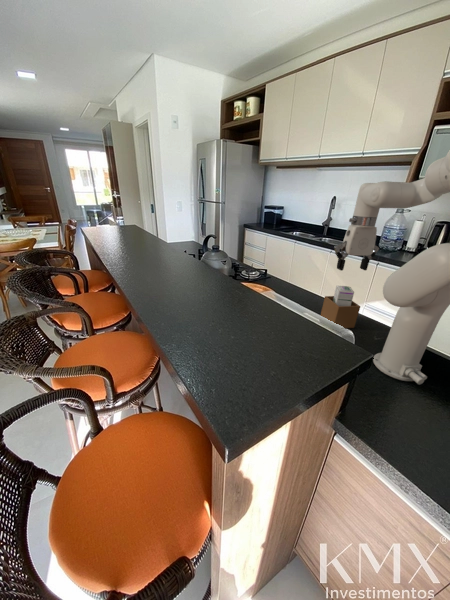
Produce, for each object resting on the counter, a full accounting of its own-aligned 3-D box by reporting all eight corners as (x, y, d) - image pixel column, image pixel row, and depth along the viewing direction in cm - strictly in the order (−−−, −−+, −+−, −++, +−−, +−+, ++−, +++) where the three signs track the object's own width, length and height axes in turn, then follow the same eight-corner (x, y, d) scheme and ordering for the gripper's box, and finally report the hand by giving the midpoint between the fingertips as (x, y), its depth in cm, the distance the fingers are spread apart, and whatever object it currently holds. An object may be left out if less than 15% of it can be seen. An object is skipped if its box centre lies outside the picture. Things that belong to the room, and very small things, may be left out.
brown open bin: (354, 327, 99) (360, 306, 95) (333, 328, 98) (338, 306, 94) (339, 315, 108) (345, 295, 104) (320, 316, 107) (324, 296, 103)
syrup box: (346, 325, 100) (355, 291, 94) (330, 323, 101) (339, 290, 95) (342, 318, 105) (351, 286, 99) (328, 316, 106) (336, 284, 100)
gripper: (347, 222, 82) (336, 272, 88) (393, 224, 84) (379, 272, 91) (334, 220, 88) (325, 266, 95) (377, 221, 91) (365, 266, 98)
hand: (351, 269), depth 93 cm, fingers open, 9 cm apart
